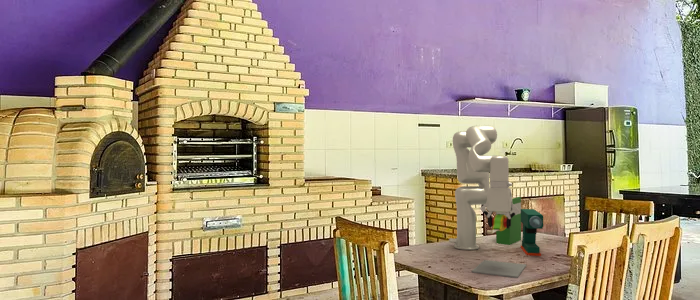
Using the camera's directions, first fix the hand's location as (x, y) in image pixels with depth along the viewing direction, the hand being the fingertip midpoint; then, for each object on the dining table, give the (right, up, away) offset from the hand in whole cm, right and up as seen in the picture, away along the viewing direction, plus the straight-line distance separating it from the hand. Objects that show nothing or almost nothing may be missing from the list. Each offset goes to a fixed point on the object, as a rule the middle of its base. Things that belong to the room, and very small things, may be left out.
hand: (499, 227), depth 199 cm
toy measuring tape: (-1, -1, -2) cm, 3 cm away
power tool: (+25, -18, +27) cm, 41 cm away
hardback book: (+24, -18, +59) cm, 66 cm away
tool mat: (0, -18, 0) cm, 18 cm away
